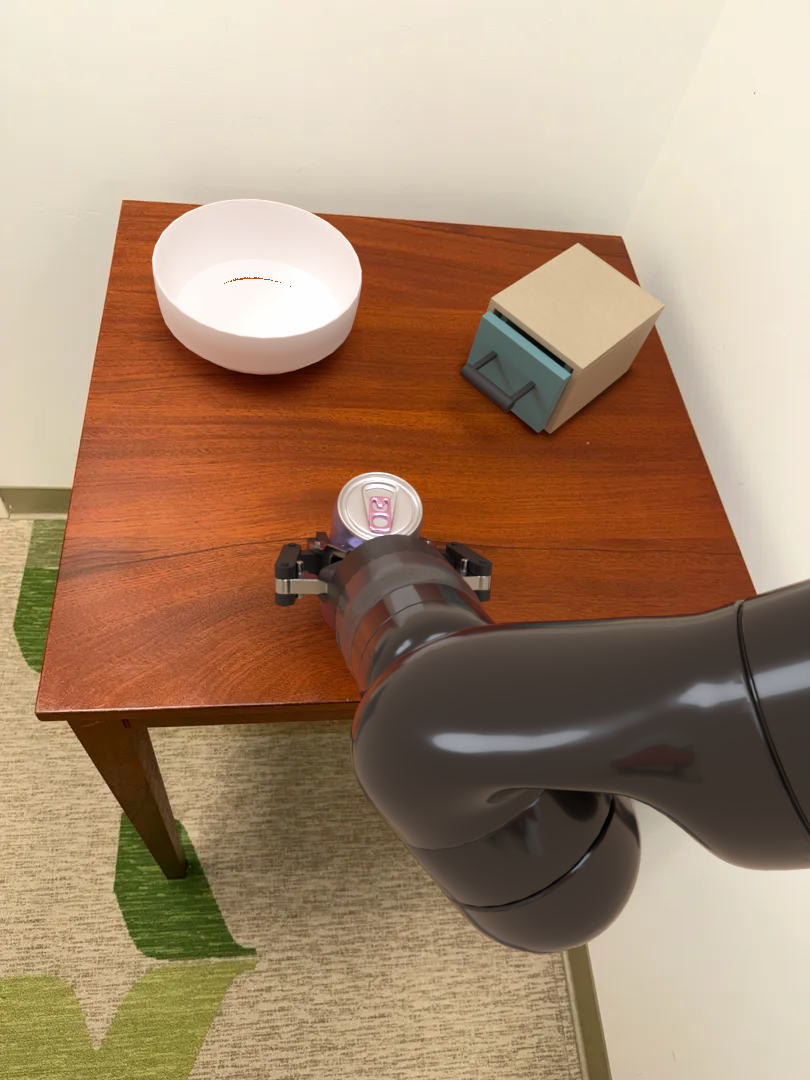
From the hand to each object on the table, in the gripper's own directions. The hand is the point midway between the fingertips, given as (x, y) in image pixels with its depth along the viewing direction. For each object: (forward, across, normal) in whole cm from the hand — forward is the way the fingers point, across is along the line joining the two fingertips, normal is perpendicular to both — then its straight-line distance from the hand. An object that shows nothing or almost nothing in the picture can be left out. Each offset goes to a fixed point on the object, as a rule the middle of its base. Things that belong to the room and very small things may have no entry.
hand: (364, 544), depth 57 cm
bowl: (+30, +8, -16) cm, 34 cm away
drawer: (+24, -20, -11) cm, 34 cm away
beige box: (+27, -24, -13) cm, 38 cm away
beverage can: (+4, 0, +6) cm, 8 cm away
